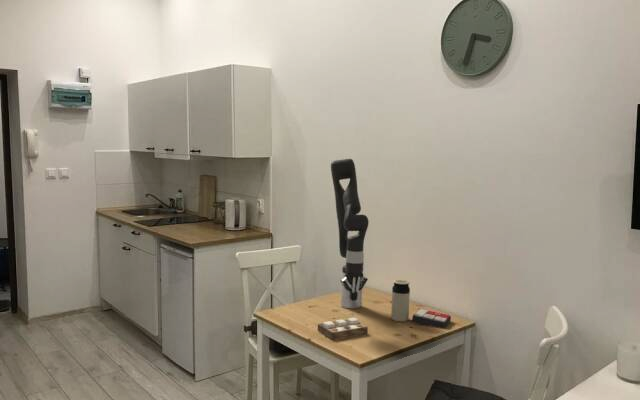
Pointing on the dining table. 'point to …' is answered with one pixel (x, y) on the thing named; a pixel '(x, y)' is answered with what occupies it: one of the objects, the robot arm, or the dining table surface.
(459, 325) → the dining table surface
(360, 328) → the button board
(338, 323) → the key middle
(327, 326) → the key
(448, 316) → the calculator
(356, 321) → the key
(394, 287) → the travel mug
